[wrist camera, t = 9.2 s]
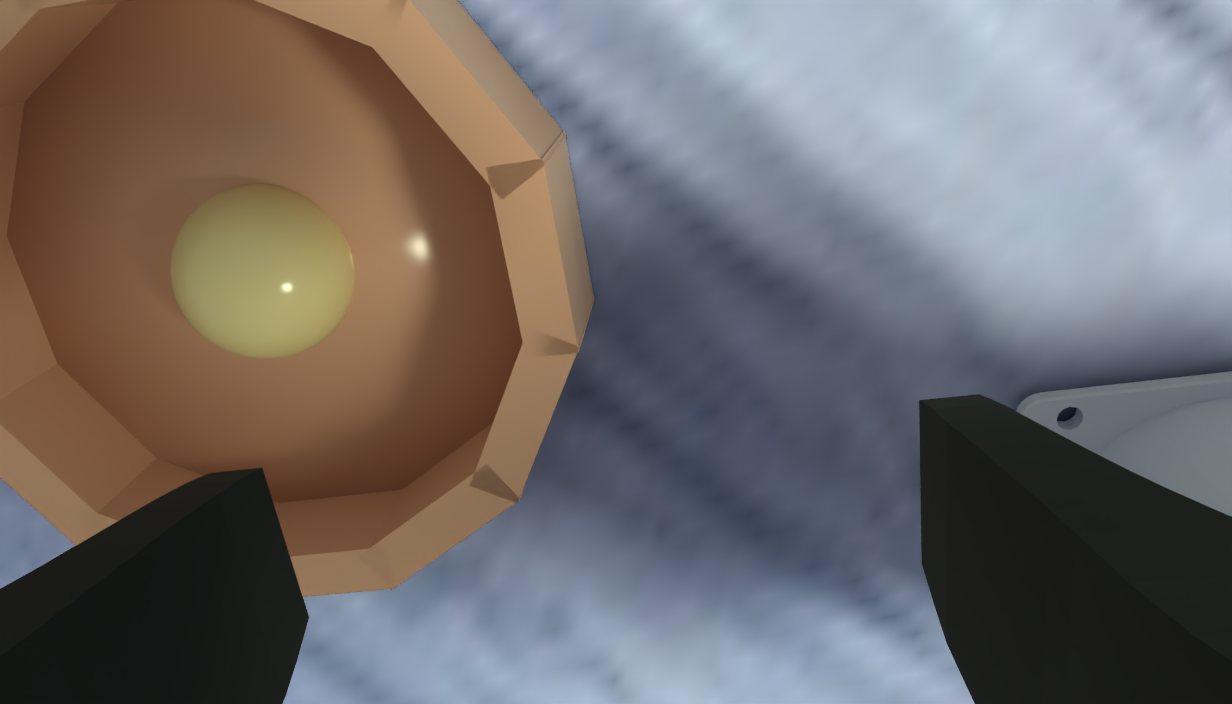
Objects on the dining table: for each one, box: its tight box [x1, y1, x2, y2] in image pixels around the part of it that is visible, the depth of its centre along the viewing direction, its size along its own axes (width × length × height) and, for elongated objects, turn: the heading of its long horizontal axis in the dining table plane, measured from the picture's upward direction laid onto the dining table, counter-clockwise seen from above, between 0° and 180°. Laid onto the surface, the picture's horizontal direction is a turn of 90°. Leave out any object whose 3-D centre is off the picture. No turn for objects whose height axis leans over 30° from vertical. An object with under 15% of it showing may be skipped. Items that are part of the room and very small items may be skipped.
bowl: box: [0, 0, 595, 597], centre depth 20 cm, size 13×13×4 cm
